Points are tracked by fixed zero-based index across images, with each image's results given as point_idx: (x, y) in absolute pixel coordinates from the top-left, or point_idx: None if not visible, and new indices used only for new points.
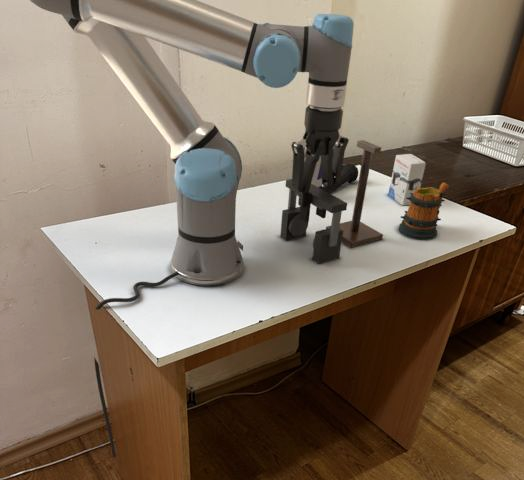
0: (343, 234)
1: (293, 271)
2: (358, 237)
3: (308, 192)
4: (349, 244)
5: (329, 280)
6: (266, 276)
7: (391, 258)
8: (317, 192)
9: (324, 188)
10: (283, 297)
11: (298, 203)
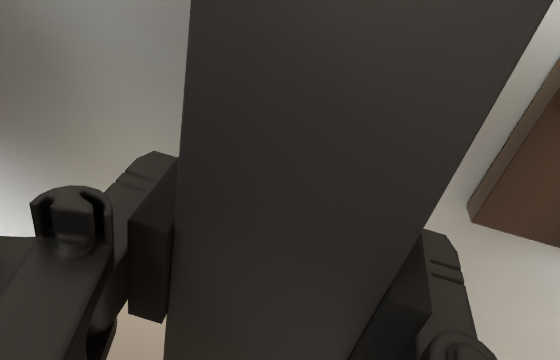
0: (540, 156)
1: (128, 154)
2: (551, 220)
3: (143, 299)
4: (474, 201)
5: None
6: (24, 111)
7: (480, 326)
8: (247, 331)
9: (376, 357)
10: (23, 214)
11: (138, 161)
